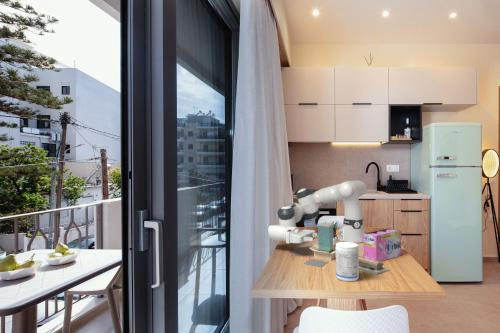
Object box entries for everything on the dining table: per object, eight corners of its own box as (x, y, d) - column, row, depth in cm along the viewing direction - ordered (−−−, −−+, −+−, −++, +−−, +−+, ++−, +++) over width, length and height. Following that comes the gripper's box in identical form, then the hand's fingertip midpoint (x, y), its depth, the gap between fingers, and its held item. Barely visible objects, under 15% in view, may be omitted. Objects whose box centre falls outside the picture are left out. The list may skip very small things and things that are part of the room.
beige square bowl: (307, 259, 168) (306, 249, 168) (318, 252, 180) (318, 243, 180) (334, 263, 159) (334, 253, 159) (344, 256, 172) (344, 246, 172)
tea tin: (318, 257, 169) (318, 224, 169) (322, 255, 173) (321, 222, 174) (329, 259, 166) (329, 225, 166) (333, 256, 170) (332, 223, 170)
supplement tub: (337, 273, 145) (337, 240, 145) (359, 276, 141) (359, 242, 141) (334, 280, 136) (334, 245, 136) (357, 283, 132) (357, 247, 132)
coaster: (303, 265, 158) (303, 263, 158) (311, 260, 165) (311, 259, 165) (321, 268, 153) (321, 266, 153) (328, 263, 160) (328, 261, 160)
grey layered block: (343, 256, 157) (356, 253, 163) (343, 266, 157) (356, 262, 163) (376, 265, 143) (389, 261, 148) (376, 275, 143) (389, 271, 148)
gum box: (390, 252, 181) (389, 227, 181) (403, 255, 174) (403, 230, 174) (363, 259, 167) (362, 233, 167) (376, 262, 161) (376, 235, 161)
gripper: (301, 236, 188) (324, 239, 181) (284, 243, 172) (308, 247, 164) (301, 226, 188) (324, 228, 181) (284, 232, 172) (308, 235, 164)
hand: (316, 237), depth 172 cm, fingers open, 8 cm apart
